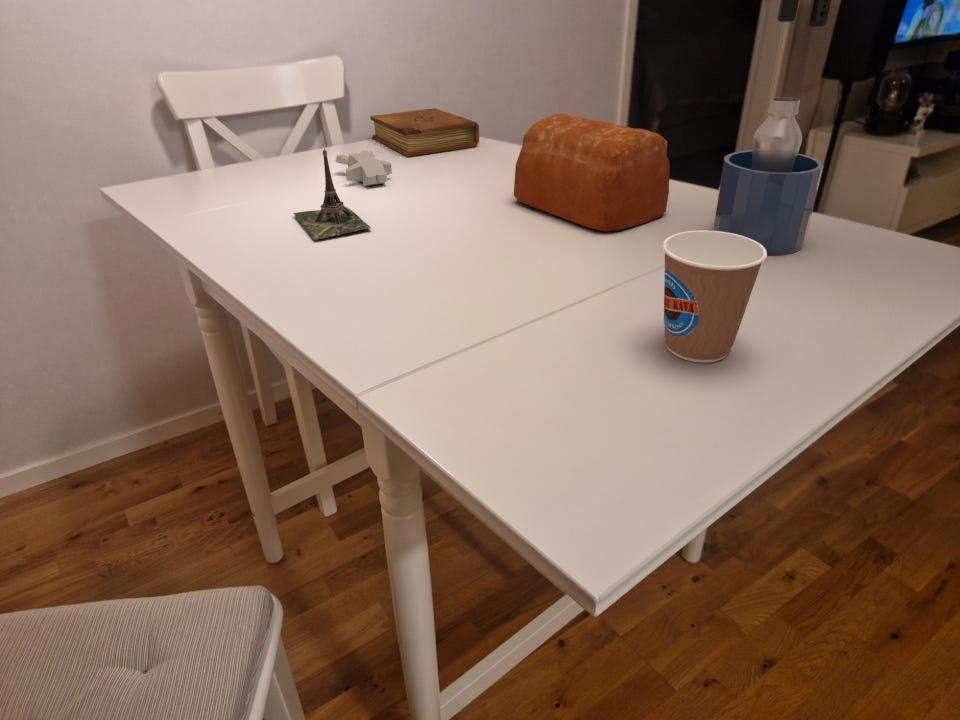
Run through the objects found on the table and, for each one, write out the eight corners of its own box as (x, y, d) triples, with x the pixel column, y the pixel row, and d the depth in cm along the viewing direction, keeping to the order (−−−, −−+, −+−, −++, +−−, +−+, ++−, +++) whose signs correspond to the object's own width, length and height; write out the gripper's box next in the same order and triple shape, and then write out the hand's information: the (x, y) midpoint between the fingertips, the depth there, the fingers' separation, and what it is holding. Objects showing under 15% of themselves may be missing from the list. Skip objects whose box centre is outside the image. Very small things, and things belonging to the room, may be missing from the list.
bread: (604, 237, 104) (612, 141, 96) (507, 201, 121) (507, 117, 113) (674, 214, 113) (686, 124, 105) (574, 184, 130) (578, 104, 122)
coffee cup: (635, 332, 77) (645, 235, 71) (714, 321, 79) (731, 225, 73) (677, 377, 69) (693, 272, 63) (764, 363, 71) (789, 260, 65)
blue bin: (780, 223, 108) (796, 148, 102) (820, 253, 96) (841, 171, 90) (699, 226, 108) (711, 151, 101) (730, 257, 96) (745, 175, 90)
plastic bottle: (788, 243, 99) (820, 103, 89) (743, 244, 99) (770, 104, 89) (771, 228, 104) (800, 94, 94) (729, 229, 105) (753, 96, 94)
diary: (479, 146, 158) (478, 121, 155) (407, 157, 150) (405, 131, 148) (438, 129, 175) (437, 106, 172) (372, 138, 168) (370, 115, 165)
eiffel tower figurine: (291, 216, 117) (278, 138, 110) (346, 206, 121) (337, 131, 114) (314, 242, 105) (300, 157, 98) (374, 231, 109) (365, 149, 102)
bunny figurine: (353, 171, 126) (328, 146, 137) (355, 196, 129) (331, 170, 140) (399, 164, 130) (371, 140, 141) (400, 188, 133) (373, 164, 144)
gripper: (897, -138, 72) (856, 27, 81) (831, -123, 84) (802, 19, 93) (830, -136, 72) (796, 29, 80) (774, -121, 84) (750, 20, 93)
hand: (800, 23), depth 87 cm, fingers open, 8 cm apart
